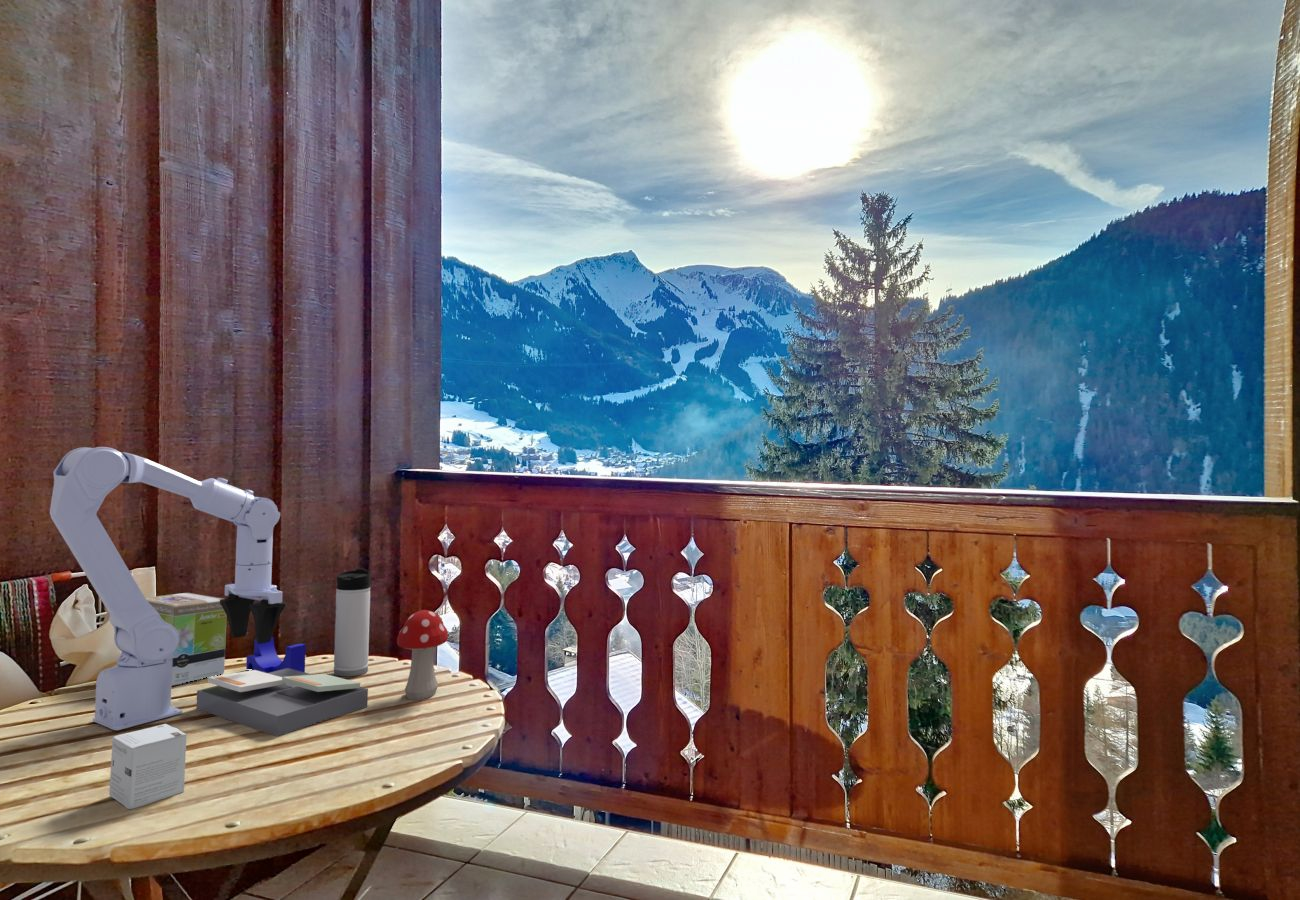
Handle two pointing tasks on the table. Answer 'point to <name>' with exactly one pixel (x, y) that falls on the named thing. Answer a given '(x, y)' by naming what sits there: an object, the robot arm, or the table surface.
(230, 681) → the cream rocker
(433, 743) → the table surface
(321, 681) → the plate
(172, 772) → the skincare box
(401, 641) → the decorative mushroom
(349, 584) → the travel mug
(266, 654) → the blue curved bracket
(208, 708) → the switch block
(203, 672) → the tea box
